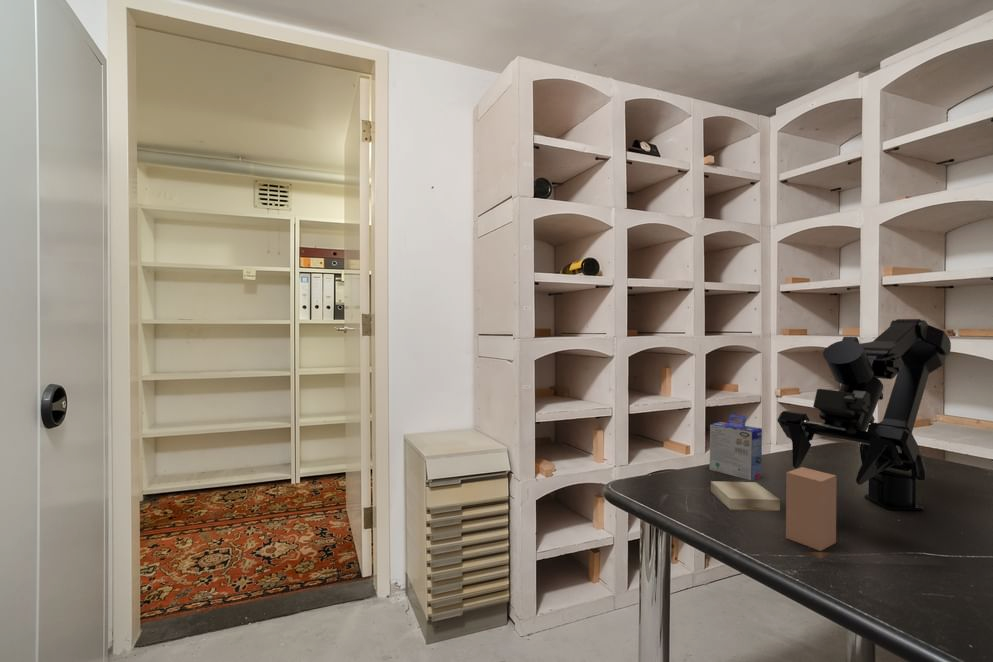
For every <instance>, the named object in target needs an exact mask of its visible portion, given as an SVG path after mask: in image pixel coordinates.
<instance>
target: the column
mask: <svg viewBox="0 0 993 662" xmlns="http://www.w3.org/2000/svg"><path fill="white" fill-rule="evenodd" d="M785 475H786V476H785V477H786V478H785V479H786V481H785V484H786V485H785V487H786V490H785V539H788V540H791V541H794V542H795V543H798V544H801V545H804V546H807V547H809V548H811V549H814V550H817V551H802V553H804V554H805V555H807V556H811V557H814V558H816V559H818V558H819V560H822V559H823V558H825V557H827V556H829V555H831V554H832V552H821V551H824V550H825V549H826V548H829V547H831V546H833V545H835V544H836V543H837V475H835V474H833V473H832V474H831V473H827V472H823V471H821V470H820V471H819V470H815V469H811V468H807V467H803V466H801V467H798V468H797V469H795V468H794V469H792V470H789V471H786V473H785Z"/></svg>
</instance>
